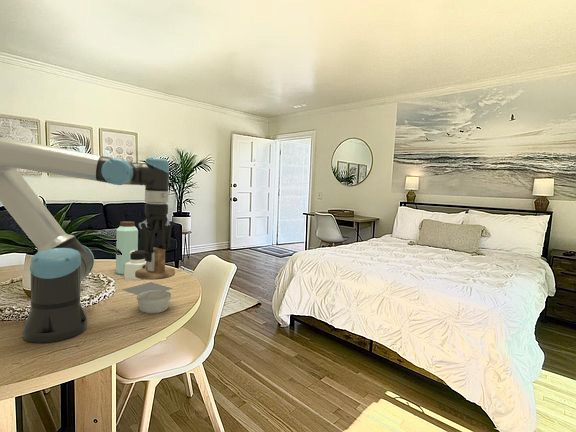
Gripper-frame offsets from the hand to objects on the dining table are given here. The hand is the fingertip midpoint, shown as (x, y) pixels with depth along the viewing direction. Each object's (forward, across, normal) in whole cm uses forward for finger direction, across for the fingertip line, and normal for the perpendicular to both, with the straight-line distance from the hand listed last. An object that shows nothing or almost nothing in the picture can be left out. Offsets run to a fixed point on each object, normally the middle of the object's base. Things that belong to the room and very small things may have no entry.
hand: (155, 269), depth 115 cm
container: (+14, +20, +37) cm, 45 cm away
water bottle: (+14, +23, +49) cm, 56 cm away
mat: (+14, +12, +19) cm, 27 cm away
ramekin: (+15, 0, 0) cm, 15 cm away
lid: (+2, 0, 0) cm, 2 cm away
